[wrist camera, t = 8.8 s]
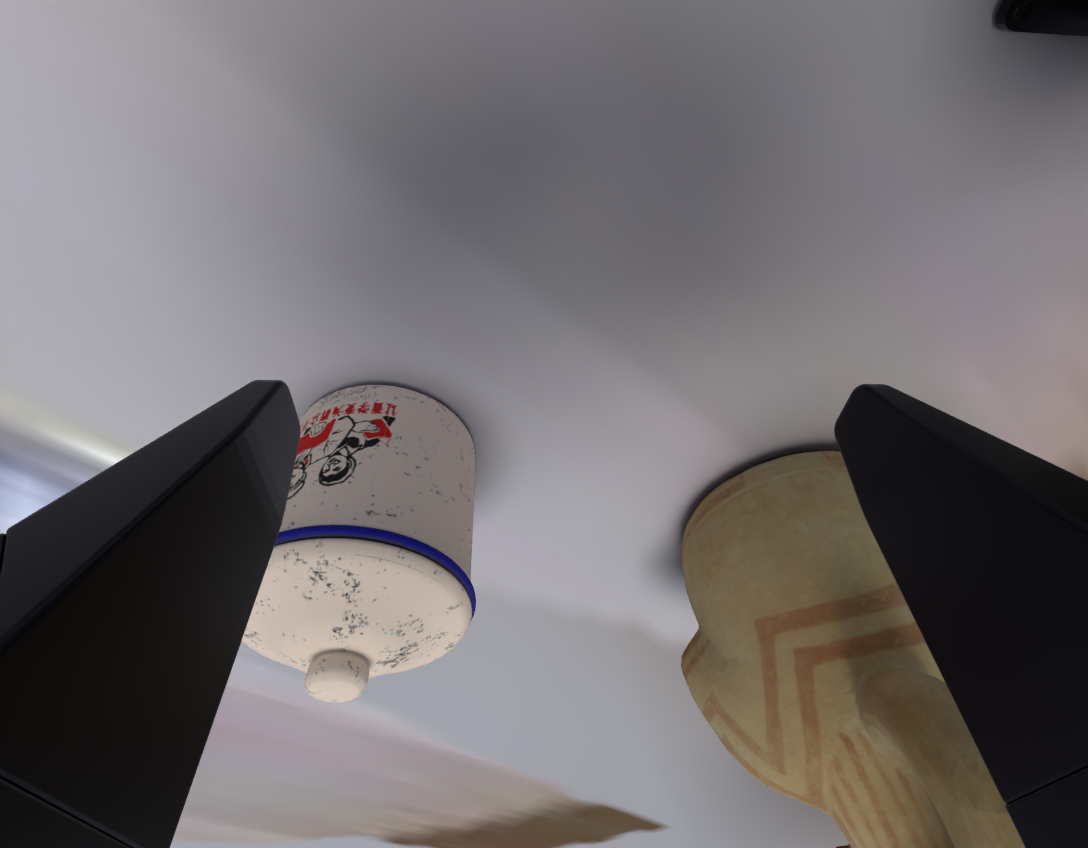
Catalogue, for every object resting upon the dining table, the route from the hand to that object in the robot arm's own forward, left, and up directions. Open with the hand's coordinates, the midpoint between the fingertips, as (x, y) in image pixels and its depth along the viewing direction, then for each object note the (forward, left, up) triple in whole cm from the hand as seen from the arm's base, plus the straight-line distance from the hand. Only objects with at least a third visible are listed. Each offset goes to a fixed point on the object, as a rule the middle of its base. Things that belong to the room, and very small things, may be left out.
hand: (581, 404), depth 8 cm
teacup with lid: (+8, +14, -13) cm, 21 cm away
